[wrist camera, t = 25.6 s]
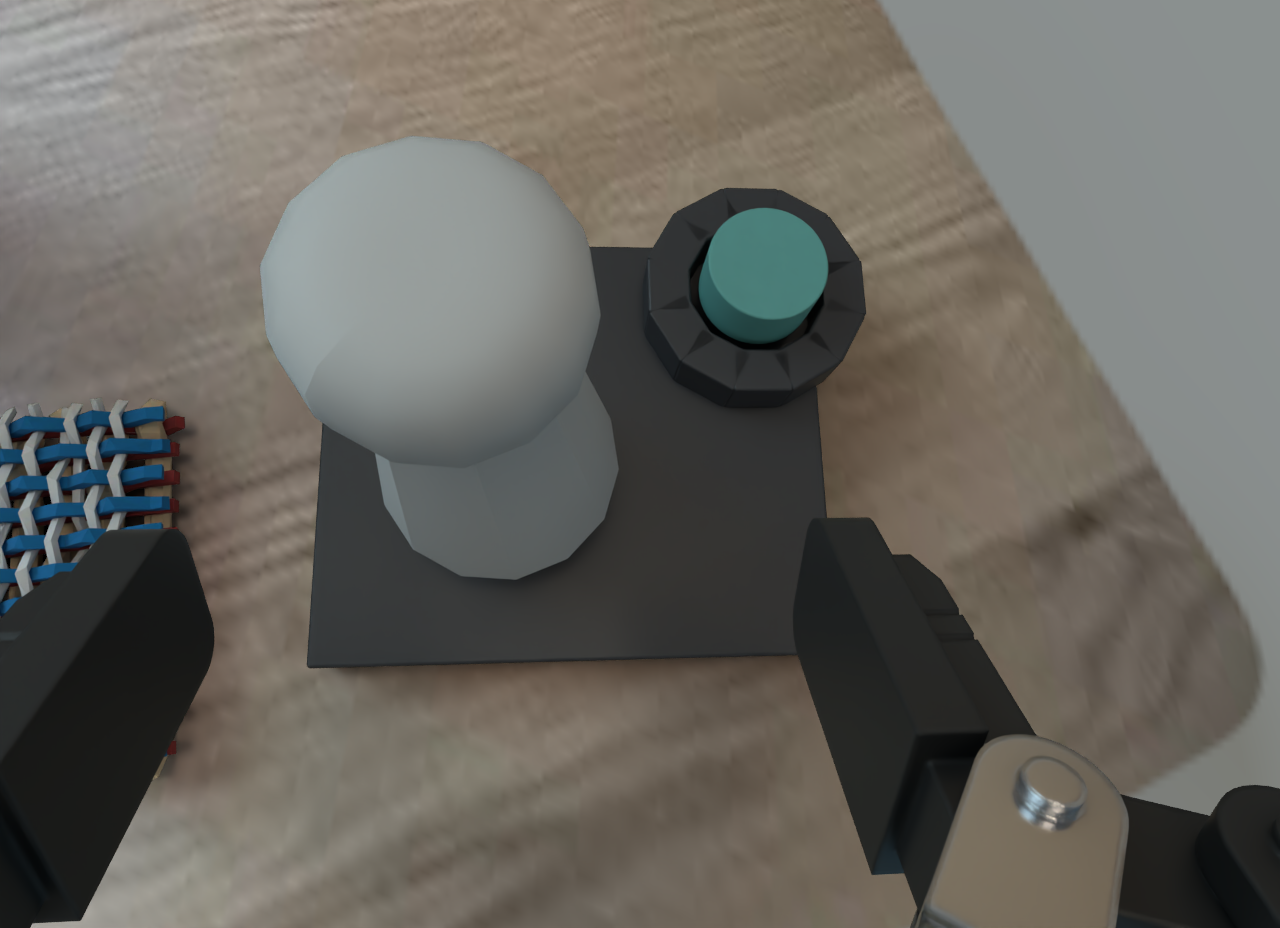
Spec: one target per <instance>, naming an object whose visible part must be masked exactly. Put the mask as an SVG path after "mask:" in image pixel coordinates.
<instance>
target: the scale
mask: <svg viewBox="0 0 1280 928" xmlns="http://www.w3.org/2000/svg"><path fill="white" fill-rule="evenodd" d="M756 208H773V209H778V210H782V211H785V212H788V213H790V214H792V215H794V216H796V217H798V218H800V219H801V220H803V221H804V222H805V223H806V224H808V225H809V226H810V227H811V228H812V229H813V230H814V232H815V233H816V234H817V235H818V237H819V239H820V240H821V242H822V244H823V246H824V248H825V251H826V255H827V260H828V278H827V282H826V286H825V288H824V290H823V292H822V294H821V296H820V297H819V299H818V300H817V302H816V303H815V305H814V306H813V307H812V309H811V310H810V312H809V313H808V315H807V316H806V318H805V319H804V320H803V322H802V323H801V324H800V326H799V327H798V328H797V329H796V330H795V331H794V332H793V333H791V334H790V335H788V336H787V337H785V338H783V339H781V340H778V341H775V342H772V343H766V344H750V343H745V342H741V341H738V340H735V339H733V338H731V337H729V336H727V335H726V334H724V333H723V332H721V331H720V330H719V329H718V328H717V327H716V326H715V325H714V324H713V323H712V322H711V321H710V320H709V318H708V317H707V315H706V313H705V312H704V310H703V307H702V305H701V302H700V298H699V290H698V288H699V278H700V274H701V271H702V268H703V265H704V262H705V259H706V256H707V253H708V250H709V247H710V244H711V241H712V239H713V237H714V235H715V233H716V232H717V230H718V229H719V228H720V227H721V226H722V225H723V223H725V222H726V221H727V220H728V219H730V218H731V217H733V216H734V215H736V214H739V213H741V212H743V211H746V210H750V209H756ZM589 248H590V251H591V258H592V264H593V270H594V276H595V283H596V289H597V295H598V301H599V308H600V314H601V316H600V321H599V326H598V330H597V335H596V338H595V341H594V344H593V348H592V351H591V354H590V358H589V361H588V364H587V367H586V371H585V372H586V373H587V375H588V377H589V379H590V381H591V383H592V385H593V387H594V388H595V390H596V392H597V394H598V396H599V398H600V400H601V401H602V403H603V405H604V407H605V409H606V411H607V413H608V415H609V416H610V418H611V423H612V430H613V436H614V443H615V449H616V455H617V462H618V468H619V470H618V474H617V477H616V481H615V484H614V488H613V491H612V494H611V498H610V501H609V505H608V508H607V512H606V515H605V519H604V520H603V521H602V522H601V523H600V524H599V525H598V526H597V528H596V529H595V530H594V531H593V532H592V533H591V534H590V535H589V536H588V537H587V538H586V539H585V541H584V542H583V543H582V544H581V545H580V546H579V547H578V548H577V549H576V550H575V551H574V552H573V553H572V555H571V556H570V557H569V558H568V559H566V560H563V561H561V562H559V563H556V564H554V565H551V566H549V567H546V568H544V569H541V570H539V571H536V572H534V573H532V574H529V575H527V576H524V577H522V578H519V579H517V580H513V579H497V578H481V577H465V576H460V575H458V574H456V573H454V572H453V571H451V570H449V569H447V568H445V567H444V566H442V565H440V564H438V563H437V562H435V561H433V560H431V559H429V558H428V557H426V556H424V555H422V554H420V553H419V552H417V551H415V550H413V549H412V547H411V545H410V544H409V542H408V541H407V539H406V538H405V536H404V535H403V533H402V532H401V530H400V528H399V527H398V525H397V524H396V522H395V521H394V519H393V518H392V516H391V515H390V513H389V511H388V510H387V508H386V507H385V505H384V500H383V495H382V489H381V484H380V478H379V473H378V467H377V461H376V456H375V453H374V452H372V451H371V450H369V449H367V448H365V447H363V446H361V445H360V444H358V443H356V442H354V441H352V440H350V439H349V438H347V437H345V436H343V435H341V434H339V433H338V432H336V431H334V430H332V429H331V428H329V427H328V426H326V425H325V424H324V423H323V425H322V441H321V456H320V471H319V487H318V502H317V517H316V533H315V548H314V563H313V579H312V594H311V609H310V625H309V640H308V655H307V666H308V668H341V667H378V666H414V665H451V664H487V663H524V662H560V661H597V660H633V659H670V658H706V657H743V656H779V655H798V654H797V651H796V647H795V641H794V634H793V606H794V600H795V594H796V589H797V583H798V578H799V572H800V567H801V561H802V556H803V550H804V545H805V539H806V534H807V530H808V526H809V524H810V522H811V521H812V519H814V518H827V515H826V502H825V490H824V477H823V464H822V452H821V439H820V426H819V414H818V401H817V388H816V386H817V385H818V384H820V383H822V382H823V381H824V380H825V379H826V378H827V377H828V376H829V375H830V374H831V373H832V372H833V370H834V369H835V368H836V367H837V366H838V365H839V364H840V363H841V362H842V361H843V359H844V357H845V355H846V353H847V351H848V349H849V347H850V345H851V343H852V341H853V339H854V337H855V335H856V333H857V331H858V330H859V328H860V326H861V324H862V322H863V320H864V316H865V314H866V307H865V297H864V286H863V276H862V265H861V261H859V258H858V257H857V255H856V254H855V252H854V251H853V249H852V248H851V247H850V245H849V244H848V242H847V241H846V239H845V238H844V237H843V235H842V234H841V232H840V231H839V230H838V228H837V227H836V225H835V224H834V222H833V221H832V220H831V218H830V217H828V215H827V214H825V213H823V212H822V211H820V210H818V209H816V208H814V207H812V206H810V205H808V204H806V203H805V202H803V201H801V200H799V199H797V198H795V197H793V196H791V195H789V194H788V193H786V192H784V191H782V190H777V189H748V188H724V189H720V190H718V191H716V192H714V193H712V194H710V195H708V196H706V197H704V198H702V199H701V200H699V201H697V202H695V203H693V204H691V205H689V206H687V207H685V208H683V209H681V210H679V211H677V212H676V213H674V214H673V215H672V217H671V219H670V220H669V222H668V224H667V225H666V227H665V229H664V230H663V232H662V234H661V235H660V237H659V239H658V240H657V242H656V244H655V245H654V247H653V248H630V247H589Z"/></svg>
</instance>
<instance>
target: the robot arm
mask: <svg viewBox="0 0 1280 928" xmlns="http://www.w3.org/2000/svg"><path fill="white" fill-rule="evenodd" d="M793 634H794V641H795V647H796V651H797V654H798V657H799V660H800V663H801V666H802V669H803V672H804V675H805V678H806V681H807V684H808V687H809V690H810V693H811V696H812V699H813V702H814V705H815V708H816V711H817V714H818V717H819V719H820V722H821V725H822V728H823V731H824V734H825V737H826V740H827V743H828V746H829V749H830V752H831V755H832V758H833V761H834V764H835V767H836V770H837V773H838V776H839V779H840V782H841V785H842V788H843V791H844V794H845V797H846V800H847V803H848V806H849V809H850V812H851V815H852V818H853V820H854V823H855V826H856V829H857V832H858V835H859V838H860V841H861V844H862V847H863V850H864V853H865V856H866V859H867V862H868V865H869V868H870V871H871V874H872V875H879V874H898V873H905V876H906V879H907V881H908V884H909V887H910V889H911V892H912V895H913V897H914V900H915V903H916V905H917V910H916V912H915V915H914V918H913V921H912V924H911V926H910V928H1280V789H1279V788H1274V787H1269V786H1260V785H1249V786H1241V787H1238V788H1234V789H1232V790H1231V791H1229V792H1227V793H1226V794H1225V795H1224V796H1223V797H1222V798H1221V800H1220V801H1219V803H1218V804H1217V806H1216V807H1215V809H1214V810H1213V812H1212V814H1211V815H1210V816H1208V815H1204V814H1199V813H1196V812H1191V811H1187V810H1183V809H1179V808H1174V807H1170V806H1166V805H1162V804H1158V803H1153V802H1149V801H1145V800H1141V799H1136V798H1132V797H1128V796H1125V795H1122V794H1119V792H1118V791H1117V789H1116V787H1115V786H1114V785H1113V783H1112V782H1111V781H1110V780H1109V779H1108V777H1107V776H1106V775H1105V774H1104V773H1103V772H1102V771H1101V770H1100V769H1099V768H1098V767H1097V766H1095V765H1094V764H1093V763H1091V762H1090V761H1089V760H1088V759H1086V758H1085V757H1083V756H1082V755H1080V754H1079V753H1077V752H1075V751H1074V750H1072V749H1070V748H1068V747H1066V746H1064V745H1062V744H1060V743H1057V742H1054V741H1052V740H1049V739H1046V738H1042V737H1038V736H1037V735H1036V734H1035V733H1034V731H1033V729H1032V728H1031V726H1030V724H1029V723H1028V721H1027V719H1026V718H1025V716H1024V715H1023V713H1022V711H1021V710H1020V708H1019V706H1018V705H1017V703H1016V701H1015V700H1014V698H1013V697H1012V695H1011V693H1010V692H1009V690H1008V688H1007V687H1006V685H1005V684H1004V682H1003V680H1002V679H1001V677H1000V675H999V674H998V672H997V670H996V669H995V667H994V666H993V664H992V662H991V661H990V659H989V657H988V656H987V654H986V652H985V651H984V649H983V648H982V646H981V644H980V643H979V641H978V640H974V633H973V631H972V630H971V628H970V626H969V625H968V623H967V621H966V620H965V618H964V616H963V615H959V608H958V607H957V605H956V603H955V602H954V600H953V598H952V597H951V595H950V594H949V592H948V590H947V589H946V587H945V585H944V584H943V582H942V580H941V579H940V578H938V577H937V576H936V575H935V574H934V573H932V572H931V571H930V570H929V569H927V568H926V567H925V566H924V565H923V564H921V563H920V562H919V561H918V560H916V559H915V558H914V557H913V556H912V555H910V554H908V555H892V554H891V552H890V550H889V548H888V546H887V545H886V543H885V541H884V539H883V537H882V536H881V534H880V532H879V530H878V528H877V526H876V525H875V523H874V522H873V521H872V520H871V519H870V518H814V519H812V521H811V522H810V524H809V526H808V530H807V534H806V539H805V545H804V550H803V556H802V561H801V567H800V572H799V578H798V583H797V589H796V594H795V600H794V606H793ZM213 648H214V627H213V622H212V618H211V615H210V611H209V608H208V605H207V602H206V599H205V596H204V592H203V589H202V586H201V583H200V580H199V577H198V573H197V570H196V567H195V564H194V561H193V558H192V554H191V551H190V548H189V545H188V542H187V540H186V538H185V536H184V535H183V534H182V533H181V532H180V531H179V530H177V529H123V530H109V531H106V532H105V533H103V534H102V535H101V536H100V537H99V538H98V539H97V540H96V542H95V543H94V544H93V545H92V546H91V548H90V549H89V550H88V551H87V553H86V554H85V555H84V556H83V558H82V559H81V560H80V561H79V562H78V564H77V565H76V566H75V567H74V569H73V570H72V571H62V572H58V573H57V574H55V575H54V576H52V577H51V578H49V579H48V580H46V581H45V582H43V583H42V584H40V585H39V586H37V587H36V588H34V589H33V590H31V591H30V592H28V593H27V594H25V595H24V596H22V597H21V598H20V599H18V600H17V601H16V602H15V603H14V604H13V605H12V606H11V607H10V608H9V610H8V611H7V612H6V613H5V614H4V615H3V617H2V618H1V619H0V928H30V927H31V925H32V923H46V922H65V921H81V919H82V917H83V915H84V913H85V911H86V909H87V907H88V905H89V903H90V901H91V900H92V898H93V896H94V894H95V892H96V890H97V888H98V886H99V884H100V882H101V880H102V878H103V876H104V874H105V872H106V870H107V868H108V866H109V864H110V862H111V860H112V858H113V856H114V854H115V852H116V850H117V848H118V846H119V844H120V842H121V840H122V839H123V837H124V835H125V833H126V831H127V829H128V827H129V825H130V823H131V821H132V819H133V817H134V815H135V813H136V811H137V809H138V807H139V805H140V803H141V801H142V799H143V797H144V795H145V793H146V791H147V789H148V787H149V785H150V783H151V781H152V779H153V778H154V776H155V774H156V772H157V770H158V768H159V766H160V764H161V762H162V760H163V758H164V756H165V754H166V752H167V750H168V748H169V746H170V744H171V742H172V740H173V738H174V736H175V734H176V732H177V730H178V728H179V726H180V724H181V722H182V720H183V718H184V716H185V715H186V713H187V711H188V709H189V707H190V705H191V703H192V701H193V699H194V697H195V695H196V693H197V691H198V689H199V687H200V685H201V683H202V681H203V679H204V677H205V675H206V673H207V671H208V669H209V666H210V663H211V659H212V655H213Z"/></svg>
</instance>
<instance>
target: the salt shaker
mask: <svg viewBox="0 0 1280 928" xmlns="http://www.w3.org/2000/svg"><path fill="white" fill-rule="evenodd" d="M260 272H261V283H262V294H263V305H264V316H265V327H266V335H267V338H268V340H269V342H270V344H271V346H272V349H273V351H274V353H275V355H276V357H277V359H278V360H279V362H280V364H281V365H282V367H283V368H284V370H285V371H286V373H287V375H288V376H289V378H290V379H291V381H292V382H293V384H294V385H295V387H296V389H297V390H298V392H299V393H300V395H301V396H302V398H303V400H304V401H305V403H306V404H307V406H308V407H309V409H310V411H311V412H312V414H313V415H314V417H315V418H317V419H318V420H319V421H321V422H322V423H324V424H325V425H326V426H328V427H329V428H331V429H332V430H334V431H336V432H338V433H339V434H341V435H343V436H345V437H347V438H349V439H350V440H352V441H354V442H356V443H358V444H360V445H361V446H363V447H365V448H367V449H369V450H371V451H372V452H374V453H375V456H376V461H377V467H378V473H379V478H380V484H381V489H382V495H383V500H384V505H385V507H386V508H387V510H388V511H389V513H390V515H391V516H392V518H393V519H394V521H395V522H396V524H397V525H398V527H399V528H400V530H401V532H402V533H403V535H404V536H405V538H406V539H407V541H408V542H409V544H410V545H411V547H412V549H413V550H415V551H417V552H419V553H420V554H422V555H424V556H426V557H428V558H429V559H431V560H433V561H435V562H437V563H438V564H440V565H442V566H444V567H445V568H447V569H449V570H451V571H453V572H454V573H456V574H458V575H460V576H465V577H481V578H497V579H513V580H517V579H519V578H522V577H524V576H527V575H529V574H532V573H534V572H536V571H539V570H541V569H544V568H546V567H549V566H551V565H554V564H556V563H559V562H561V561H563V560H566V559H568V558H569V557H570V556H571V555H572V553H573V552H574V551H575V550H576V549H577V548H578V547H579V546H580V545H581V544H582V543H583V542H584V541H585V539H586V538H587V537H588V536H589V535H590V534H591V533H592V532H593V531H594V530H595V529H596V528H597V526H598V525H599V524H600V523H601V522H602V521H603V520H604V519H605V515H606V512H607V508H608V505H609V501H610V498H611V494H612V491H613V488H614V484H615V481H616V477H617V474H618V470H619V468H618V462H617V455H616V449H615V443H614V436H613V430H612V423H611V418H610V416H609V415H608V413H607V411H606V409H605V407H604V405H603V403H602V401H601V400H600V398H599V396H598V394H597V392H596V390H595V388H594V387H593V385H592V383H591V381H590V379H589V377H588V375H587V373H586V372H585V371H586V367H587V364H588V361H589V358H590V354H591V351H592V348H593V344H594V341H595V338H596V335H597V330H598V326H599V321H600V316H601V314H600V308H599V301H598V295H597V289H596V283H595V276H594V270H593V264H592V258H591V251H590V248H589V245H588V242H587V238H586V235H585V232H584V229H583V227H582V226H581V225H580V223H579V222H578V221H577V220H576V218H575V217H574V216H573V214H572V213H571V212H570V210H569V209H568V208H567V207H566V205H565V204H564V203H563V201H562V200H561V199H560V197H559V196H558V195H557V194H556V192H555V191H554V190H553V188H552V187H551V186H550V184H549V183H548V182H547V180H546V179H545V178H544V177H543V175H541V174H539V173H538V172H536V171H534V170H532V169H530V168H529V167H527V166H525V165H523V164H521V163H519V162H518V161H516V160H514V159H512V158H510V157H509V156H507V155H505V154H503V153H501V152H500V151H498V150H496V149H494V148H492V147H491V146H489V145H487V144H485V143H483V142H478V141H466V140H454V139H442V138H430V137H419V136H409V137H406V138H402V139H399V140H396V141H392V142H389V143H385V144H382V145H379V146H375V147H372V148H368V149H365V150H361V151H358V152H355V153H351V154H348V155H344V156H342V157H341V158H340V159H338V160H337V161H336V162H335V163H334V164H333V165H331V166H330V167H329V168H328V169H327V170H326V171H325V172H323V173H322V174H321V175H320V176H319V177H318V178H317V179H315V180H314V181H313V182H312V183H311V184H310V185H308V186H307V187H306V188H305V189H304V190H303V191H302V192H300V193H299V194H298V195H297V196H296V197H295V198H293V199H292V200H291V201H290V202H289V203H288V205H287V208H286V210H285V212H284V214H283V216H282V219H281V221H280V223H279V225H278V227H277V229H276V232H275V234H274V236H273V238H272V240H271V243H270V245H269V247H268V249H267V251H266V253H265V256H264V258H263V260H262V262H261V264H260Z"/></svg>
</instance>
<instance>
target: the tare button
mask: <svg viewBox="0 0 1280 928" xmlns="http://www.w3.org/2000/svg"><path fill="white" fill-rule="evenodd" d="M827 278H828V260H827V255H826V251H825V248H824V246H823V244H822V242H821V240H820V239H819V237H818V235H817V234H816V233H815V232H814V230H813V229H812V228H811V227H810V226H809V225H808V224H806V223H805V222H804V221H803V220H801V219H800V218H798V217H796V216H794V215H792V214H790V213H788V212H785V211H782V210H778V209H773V208H756V209H750V210H746V211H743V212H741V213H739V214H736V215H734V216H733V217H731V218H730V219H728V220H727V221H726V222H725V223H723V225H722V226H721V227H720V228H719V229H718V230H717V232H716V233H715V235H714V237H713V239H712V241H711V244H710V247H709V250H708V253H707V256H706V259H705V262H704V265H703V268H702V271H701V274H700V278H699V288H698V290H699V298H700V302H701V305H702V307H703V310H704V312H705V313H706V315H707V317H708V318H709V320H710V321H711V322H712V323H713V324H714V325H715V326H716V327H717V328H718V329H719V330H720V331H721V332H723V333H724V334H726V335H727V336H729V337H731V338H733V339H735V340H738V341H741V342H745V343H750V344H766V343H772V342H775V341H778V340H781V339H783V338H785V337H787V336H788V335H790V334H791V333H793V332H794V331H795V330H796V329H797V328H798V327H799V326H800V324H801V323H802V322H803V320H804V319H805V318H806V316H807V315H808V313H809V312H810V310H811V309H812V307H813V306H814V305H815V303H816V302H817V300H818V299H819V297H820V296H821V294H822V292H823V290H824V288H825V286H826V282H827Z"/></svg>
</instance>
